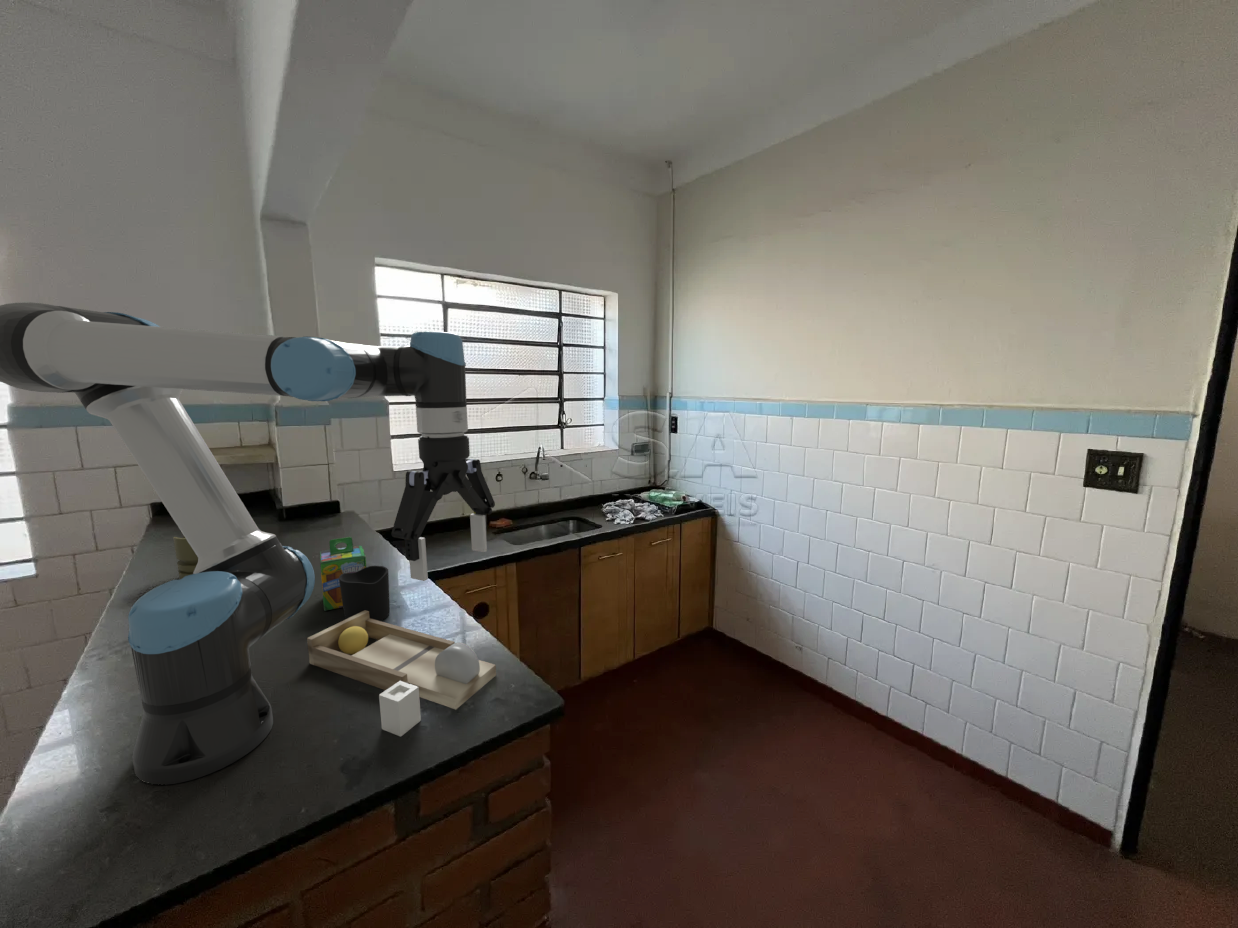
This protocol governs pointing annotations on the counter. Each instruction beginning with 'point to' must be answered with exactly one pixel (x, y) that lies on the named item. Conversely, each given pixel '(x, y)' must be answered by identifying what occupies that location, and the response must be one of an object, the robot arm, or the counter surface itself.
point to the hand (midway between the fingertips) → (451, 563)
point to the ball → (353, 640)
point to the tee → (400, 708)
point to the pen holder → (366, 592)
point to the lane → (394, 660)
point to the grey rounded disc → (457, 663)
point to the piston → (185, 557)
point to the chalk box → (338, 569)
